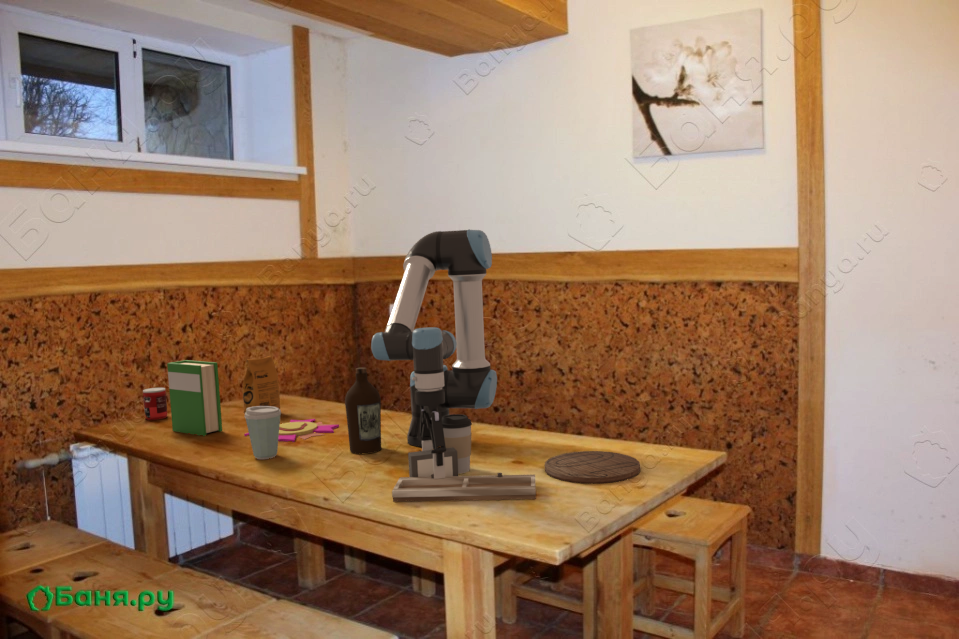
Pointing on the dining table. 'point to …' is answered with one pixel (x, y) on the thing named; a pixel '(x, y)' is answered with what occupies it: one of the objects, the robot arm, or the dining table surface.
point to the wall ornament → (302, 429)
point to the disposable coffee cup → (263, 430)
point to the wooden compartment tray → (465, 488)
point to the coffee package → (261, 384)
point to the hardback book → (194, 397)
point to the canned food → (155, 403)
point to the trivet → (592, 467)
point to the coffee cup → (458, 438)
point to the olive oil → (363, 415)
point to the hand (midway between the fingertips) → (433, 471)
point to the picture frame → (424, 463)
